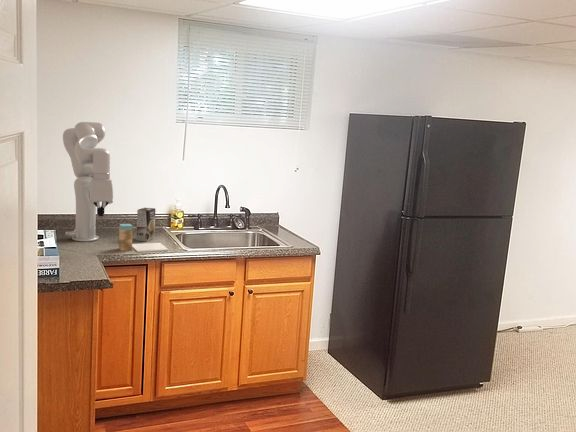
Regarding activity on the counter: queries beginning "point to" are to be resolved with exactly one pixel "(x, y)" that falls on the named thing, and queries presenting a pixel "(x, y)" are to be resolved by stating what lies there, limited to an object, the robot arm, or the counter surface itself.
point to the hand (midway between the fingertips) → (100, 215)
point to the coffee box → (145, 224)
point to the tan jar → (125, 237)
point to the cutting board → (149, 247)
